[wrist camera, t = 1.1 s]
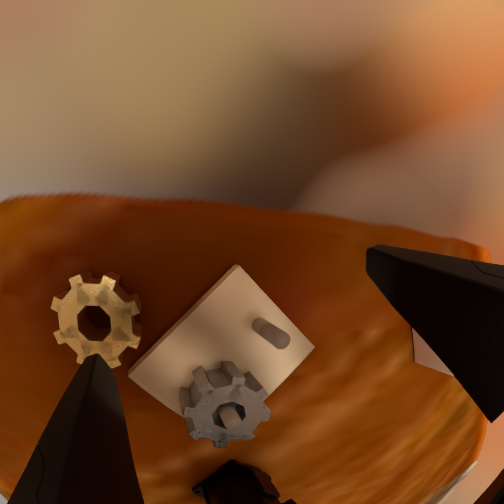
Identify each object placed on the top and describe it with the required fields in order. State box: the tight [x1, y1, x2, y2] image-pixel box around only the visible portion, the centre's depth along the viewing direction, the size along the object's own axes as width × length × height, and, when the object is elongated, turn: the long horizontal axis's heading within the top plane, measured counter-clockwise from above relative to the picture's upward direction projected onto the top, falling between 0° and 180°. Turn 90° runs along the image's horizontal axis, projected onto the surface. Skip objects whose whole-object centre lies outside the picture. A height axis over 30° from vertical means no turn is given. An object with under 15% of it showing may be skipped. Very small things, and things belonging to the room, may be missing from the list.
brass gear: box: [51, 270, 143, 368], centre depth 16 cm, size 6×6×3 cm
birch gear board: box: [128, 265, 314, 430], centre depth 19 cm, size 12×10×5 cm
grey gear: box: [178, 361, 271, 448], centre depth 18 cm, size 6×6×3 cm
